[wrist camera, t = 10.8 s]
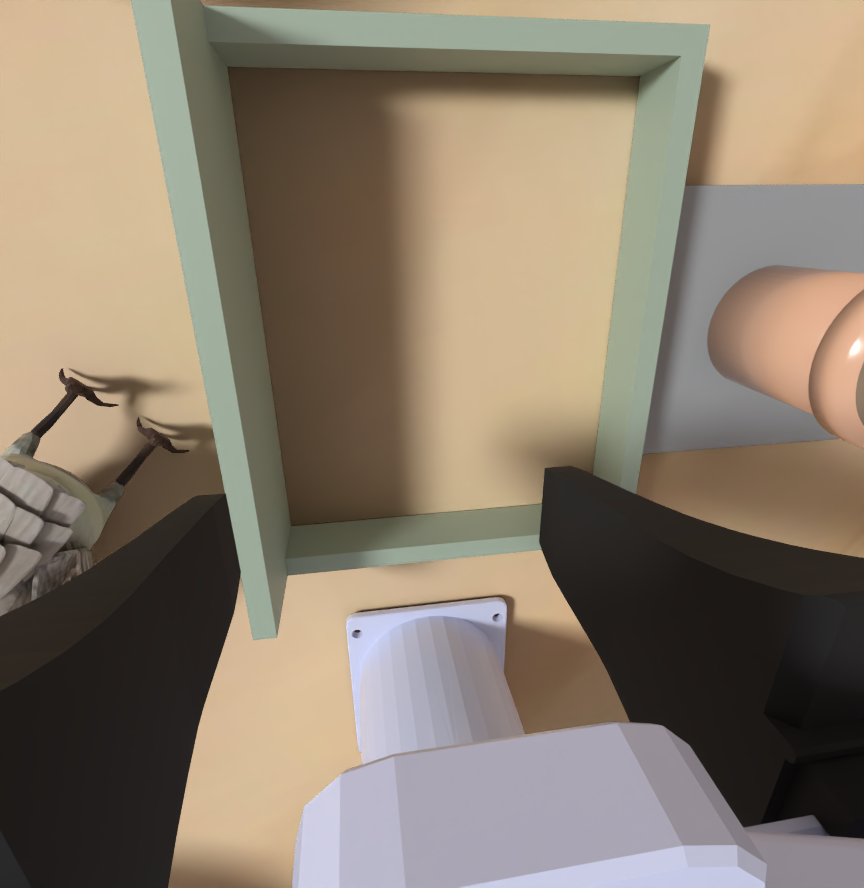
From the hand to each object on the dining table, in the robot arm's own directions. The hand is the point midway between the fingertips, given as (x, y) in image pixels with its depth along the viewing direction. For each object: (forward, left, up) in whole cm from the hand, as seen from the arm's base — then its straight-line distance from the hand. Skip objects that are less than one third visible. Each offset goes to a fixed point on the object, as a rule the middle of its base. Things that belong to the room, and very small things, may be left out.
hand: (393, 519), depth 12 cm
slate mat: (+2, -17, -10) cm, 20 cm away
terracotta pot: (+2, -17, -10) cm, 19 cm away
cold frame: (+2, -3, -10) cm, 11 cm away
